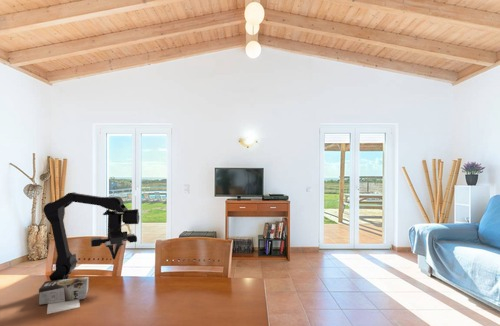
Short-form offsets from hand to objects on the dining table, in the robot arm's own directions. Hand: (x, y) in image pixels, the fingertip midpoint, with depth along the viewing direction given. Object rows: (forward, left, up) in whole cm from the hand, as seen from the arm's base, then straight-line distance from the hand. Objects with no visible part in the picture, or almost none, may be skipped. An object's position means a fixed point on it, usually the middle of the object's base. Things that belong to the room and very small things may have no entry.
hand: (113, 259), depth 132 cm
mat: (+7, -19, -13) cm, 24 cm away
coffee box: (+3, -10, -10) cm, 14 cm away
